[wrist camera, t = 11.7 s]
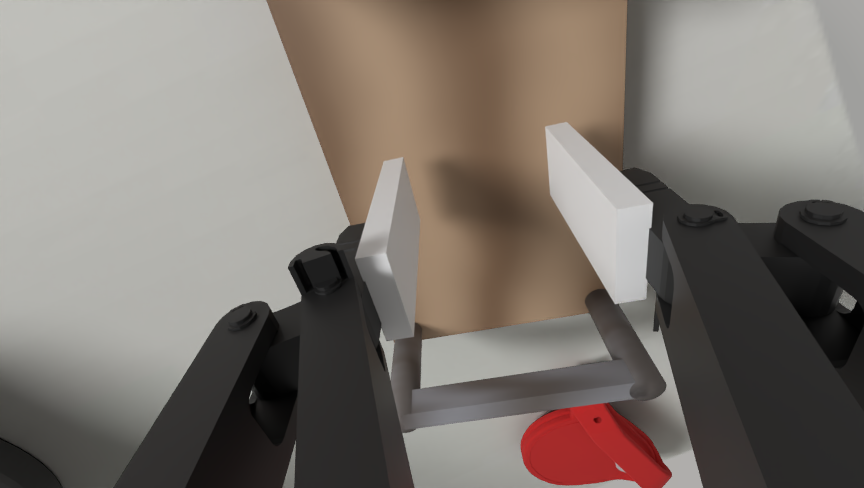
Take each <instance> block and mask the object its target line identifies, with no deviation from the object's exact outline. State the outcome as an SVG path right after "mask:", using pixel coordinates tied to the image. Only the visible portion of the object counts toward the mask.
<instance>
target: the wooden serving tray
mask: <svg viewBox="0 0 864 488" xmlns="http://www.w3.org/2000/svg"><path fill="white" fill-rule="evenodd" d="M267 3H268V6H269V8H270V11H271V14H272V17H273V19H274V22H275V25H276V27H277V30H278V33H279V35H280V38H281V41H282V43H283V46H284V49H285V51H286V54H287V57H288V59H289V62H290V65H291V67H292V70H293V73H294V75H295V78H296V81H297V83H298V86H299V89H300V91H301V94H302V97H303V99H304V102H305V105H306V107H307V110H308V113H309V115H310V118H311V121H312V123H313V126H314V129H315V131H316V134H317V137H318V139H319V142H320V145H321V147H322V150H323V153H324V155H325V158H326V161H327V163H328V166H329V169H330V172H331V174H332V177H333V180H334V182H335V185H336V188H337V190H338V193H339V196H340V198H341V201H342V204H343V206H344V209H345V212H346V214H347V217H348V220H349V222H350V225H356V224H361V223H366V219H367V216H368V213H369V209H370V206H371V202H372V199H373V196H374V192H375V189H376V186H377V182H378V179H379V175H380V172H381V169H382V165H383V162H384V161H387V160H392V159H396V158H401V157H403V158H404V161H405V165H406V169H407V173H408V176H409V180H410V184H411V187H412V191H413V195H414V199H415V202H416V206H417V210H418V214H419V217H420V235H419V253H418V271H417V290H416V308H415V326H414V337H409V338H403V339H397V340H394V343H395V345H394V354H393V363H392V372H391V386H392V390H393V395H394V399H395V404H396V408H397V413H398V417H399V422H400V426H401V430H402V433H407V432H411V431H414V430H415V429H416V428H423V427H430V426H438V425H445V424H453V423H460V422H467V421H475V420H482V419H490V418H497V417H504V416H512V415H519V414H527V413H534V412H541V411H549V410H556V409H564V408H571V407H578V406H586V405H593V404H601V403H608V402H615V401H623V400H630V399H636V400H641V401H645V400H651V399H654V398H656V397H658V396H660V395H661V394H662V393H663V392H664V391H665V389H666V382H665V381H664V379H663V377H662V376H661V374H660V372H659V371H658V369H657V367H656V366H655V364H654V363H653V361H652V359H651V358H650V356H649V354H648V353H647V351H646V349H645V348H644V346H643V344H642V343H641V341H640V339H639V338H638V336H637V334H636V333H635V331H634V329H633V328H632V326H631V324H630V323H629V321H628V319H627V318H626V316H625V314H624V313H623V311H622V309H621V308H620V306H619V304H614V302H613V300H612V298H611V297H610V295H609V293H608V292H607V290H606V288H605V287H604V285H603V283H602V282H601V280H600V278H599V276H598V275H597V273H596V271H595V270H594V268H593V266H592V265H591V263H590V261H589V260H588V258H587V256H586V255H585V253H584V251H583V249H582V248H581V246H580V244H579V243H578V241H577V239H576V238H575V236H574V234H573V233H572V231H571V229H570V227H569V226H568V224H567V222H566V221H565V219H564V217H563V216H562V214H561V212H560V211H559V209H558V207H557V206H556V204H555V202H554V200H553V199H552V197H551V195H550V186H549V172H548V159H547V145H546V132H545V126H550V125H554V124H559V123H564V122H567V123H568V124H570V125H571V126H572V127H573V128H574V129H575V130H576V131H577V132H578V133H579V134H580V135H581V136H582V137H583V138H584V139H585V140H587V141H588V142H589V143H590V144H591V145H592V146H593V147H594V148H595V149H596V150H597V151H598V152H599V153H600V154H601V155H603V156H604V157H605V158H606V159H607V160H608V161H609V162H610V163H611V164H612V165H613V166H614V167H615V168H616V169H617V170H619V171H622V170H623V134H624V99H625V64H626V28H627V0H267ZM585 313H590V315H591V317H592V319H593V321H594V323H595V325H596V327H597V329H598V331H599V333H600V335H601V337H602V339H603V341H604V343H605V345H606V347H607V349H608V351H609V353H610V355H611V357H612V359H613V361H606V362H599V363H592V364H586V365H579V366H572V367H565V368H558V369H552V370H545V371H538V372H531V373H524V374H517V375H511V376H504V377H497V378H490V379H483V380H476V381H470V382H463V383H456V384H449V385H442V386H436V387H429V388H422V389H420V381H421V348H422V340H424V339H430V338H436V337H442V336H448V335H455V334H461V333H467V332H473V331H480V330H486V329H492V328H498V327H504V326H511V325H517V324H523V323H529V322H536V321H542V320H548V319H554V318H560V317H567V316H573V315H579V314H585Z"/></svg>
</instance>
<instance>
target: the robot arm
mask: <svg viewBox="0 0 864 488" xmlns="http://www.w3.org/2000/svg"><path fill="white" fill-rule="evenodd" d="M545 132H546V145H547V159H548V172H549V186H550V195H551V197H552V199H553V200H554V202H555V204H556V206H557V207H558V209H559V211H560V212H561V214H562V216H563V217H564V219H565V221H566V222H567V224H568V226H569V227H570V229H571V231H572V233H573V234H574V236H575V238H576V239H577V241H578V243H579V244H580V246H581V248H582V249H583V251H584V253H585V255H586V256H587V258H588V260H589V261H590V263H591V265H592V266H593V268H594V270H595V271H596V273H597V275H598V276H599V278H600V280H601V282H602V283H603V285H604V287H605V288H606V290H607V292H608V293H609V295H610V297H611V298H612V300H613V302H614V304H619V303H625V302H632V301H638V300H644V299H646V293H647V281H648V282H649V283H650V285H651V286H652V287H653V288H654V290H655V291H656V292H657V294H656V305H655V316H654V328H653V331H657V332H658V330H659V325H660V328H661V331H662V335H663V339H664V343H665V346H666V350H667V354H668V358H669V361H670V365H671V369H672V373H673V376H674V380H675V384H676V388H677V391H678V395H679V399H680V402H681V406H682V410H683V414H684V417H685V421H686V425H687V429H688V432H689V436H690V440H691V444H692V447H693V451H694V454H695V458H696V462H697V466H698V470H699V473H700V477H701V481H702V484H703V488H864V212H862V211H860V210H858V209H856V208H853V207H850V206H848V205H845V204H840V203H835V202H832V201H827V200H822V201H820V200H809V201H797V202H794V203H790V204H787V205H785V206H784V207H782V208H781V209H780V211H779V215H778V218H777V222H776V223H737V222H736V220H735V219H734V217H733V216H732V215H731V214H729V213H728V212H727V211H725V210H722V209H720V208H717V207H714V206H708V205H698V204H688V203H687V202H686V201H685V200H683V199H682V198H681V197H680V196H678V195H677V194H676V193H675V192H674V191H672V190H671V189H668V187H667V186H666V185H665V184H664V183H662V182H660V180H659V179H658V178H656V177H655V176H654V175H653V174H651V173H649V172H646V171H643V170H640V169H637V168H632V169H627V170H622V171H619V170H617V169H616V168H615V167H614V166H613V165H612V164H611V163H610V162H609V161H608V160H607V159H606V158H605V157H604V156H603V155H601V154H600V153H599V152H598V151H597V150H596V149H595V148H594V147H593V146H592V145H591V144H590V143H589V142H588V141H587V140H585V139H584V138H583V137H582V136H581V135H580V134H579V133H578V132H577V131H576V130H575V129H574V128H573V127H572V126H571V125H570V124H568V123H567V122H564V123H559V124H554V125H550V126H545ZM419 235H420V217H419V214H418V210H417V206H416V202H415V199H414V195H413V191H412V187H411V184H410V180H409V176H408V173H407V169H406V165H405V161H404V158H403V157H401V158H396V159H392V160H387V161H384V162H383V165H382V169H381V172H380V175H379V179H378V182H377V186H376V189H375V192H374V196H373V199H372V202H371V206H370V209H369V213H368V216H367V219H366V223H361V224H356V225H351V226H348V227H347V228H346V229H345V230H344V231H343V232H342V233H341V234H340V235H339V238H338V240H337V243H336V244H335V243H324V244H320V245H316V246H313V247H311V248H308V249H306V250H304V251H303V252H301V253H300V254H298V255H297V256H296V257H295V258H294V259H293V260H292V261H291V262H290V264H289V266H288V269H289V271H290V273H291V275H292V277H293V279H294V281H295V283H296V285H297V287H298V289H299V291H300V293H301V295H302V296H301V302H299V303H296V304H294V305H292V306H289V307H287V308H284V309H282V310H279V311H277V312H274V313H272V311H271V309H270V307H269V306H268V304H267V303H265V302H262V301H255V302H250V303H246V304H242V305H240V306H238V307H237V308H234V309H232V310H231V311H230V312H229V313H227V314H226V315H225V316H223V317H222V318H221V319H220V321H219V322H218V323H217V324H216V326H215V327H214V329H213V330H212V332H211V334H210V335H209V337H208V338H207V340H206V341H205V343H204V345H203V346H202V348H201V349H200V351H199V353H198V354H197V356H196V357H195V359H194V361H193V362H192V364H191V365H190V367H189V369H188V370H187V372H186V373H185V375H184V376H183V378H182V380H181V381H180V383H179V384H178V386H177V388H176V389H175V391H174V392H173V394H172V396H171V397H170V399H169V400H168V402H167V403H166V405H165V407H164V408H163V410H162V411H161V413H160V415H159V416H158V418H157V419H156V421H155V423H154V424H153V426H152V427H151V429H150V431H149V432H148V434H147V435H146V437H145V438H144V440H143V442H142V443H141V445H140V446H139V448H138V450H137V451H136V453H135V454H134V456H133V458H132V459H131V461H130V462H129V464H128V466H127V467H126V469H125V470H124V472H123V473H122V475H121V477H120V478H119V480H118V481H117V483H116V485H115V486H114V488H282V487H283V483H284V480H285V476H286V473H287V469H288V466H289V462H290V459H291V455H292V451H293V448H294V444H295V441H296V457H295V484H294V488H414V484H413V480H412V475H411V471H410V466H409V462H408V457H407V453H406V448H405V444H404V439H403V435H402V430H401V426H400V422H399V417H398V413H397V408H396V404H395V399H394V395H393V390H392V386H391V381H390V377H389V372H388V368H387V363H386V359H385V354H384V351H383V348H382V346H381V343H380V341H379V337H380V331H381V328H382V330H383V333H384V336H385V338H386V341H391V340H397V339H403V338H409V337H414V326H415V308H416V290H417V271H418V253H419ZM843 290H845V291H846V292H847V293H849V294H850V295H851V296H853V297H854V298H855V299H856V300H857V302H856V304H855V307H854V309H853V310H852V311H850V310H849V309H847V308H845V307H844V306H843V305H841V304H840V303H839V299H840V297H841V294H842V292H843ZM251 390H252V395H251V397H250V393H251ZM249 397H250V399H249ZM0 488H61V486H60V484H59V482H58V480H57V479H56V477H55V476H54V475H53V474H52V473H51V472H50V470H48V469H47V468H46V467H45V466H44V465H43V464H42V463H40V462H39V461H38V460H36V459H35V458H33V457H32V456H30V455H29V454H27V453H26V452H24V451H22V450H20V449H19V448H17V447H15V446H13V445H11V444H9V443H7V442H5V441H3V440H0Z"/></svg>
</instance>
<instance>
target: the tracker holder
mask: <svg viewBox="0 0 864 488" xmlns="http://www.w3.org/2000/svg"><path fill="white" fill-rule="evenodd" d="M521 452H522V457H523V461H524V465H525V466H526V468H527V469H528V470H529V472H530V473H531V474H532V475H534V476H535V477H537V478H539V479H540V480H543V481H545V482H548V483H551V484H556V485H583V484H592V483H599V482H605V481H609V480H615V479H623V480H630V481H635V482H636V483H637V484H638V485H639V486H640V487H642V488H662V487H663V486H664V485H665V484H666V483H667V481H668V480H669V479H670V478H671V477H672V473H671V471H670V470H669V469H668V467H667V466H666V465H665V464H664V463H663V461H662V459H661V457H660V455H659V453H658V451H657V449H656V447H655V446H654V444H653V442H652V441H651V440H650V438H649V437H648V436H647V435H646V434H645V433H644V432H643V431H641V430H640V429H639V428H638V427H636V426H635V425H634V424H633V423H631V422H630V421H628V420H627V419H626V418H624V417H623V416H621V415H619V414H618V413H617V412H616V411H615V410H614V409H613V408H612V406H611V405H610V404H609V402H608V403H601V404H593V405H586V406H578V407H571V408H564V409H559V410H555V411H553V412H550V413H548V414H546V415H544V416H542V417H541V418H539V419H537V420H536V421H535V422H534V423H533V424H531V425H530V426H529V427H528V429H527V430H526V432H525V433H524V435H523V437H522V440H521Z"/></svg>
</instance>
